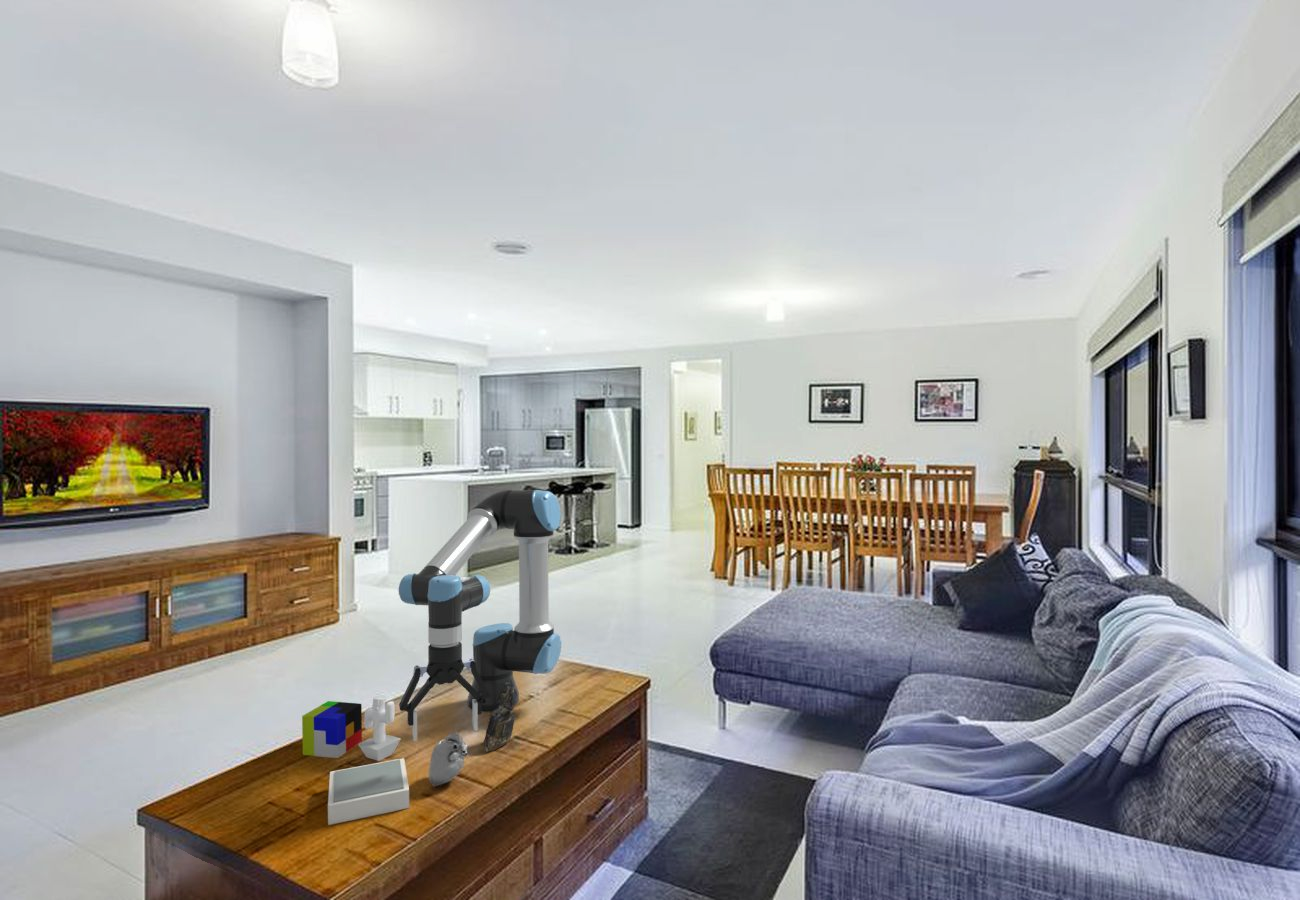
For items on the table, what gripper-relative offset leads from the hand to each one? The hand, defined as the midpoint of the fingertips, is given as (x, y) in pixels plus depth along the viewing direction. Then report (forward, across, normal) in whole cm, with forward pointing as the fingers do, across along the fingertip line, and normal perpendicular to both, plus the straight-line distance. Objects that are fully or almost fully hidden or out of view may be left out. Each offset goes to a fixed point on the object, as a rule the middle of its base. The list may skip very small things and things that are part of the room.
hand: (445, 733), depth 159 cm
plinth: (+11, +17, +1) cm, 20 cm away
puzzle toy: (+11, +25, -30) cm, 41 cm away
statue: (+11, -15, -14) cm, 24 cm away
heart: (+12, 0, 0) cm, 12 cm away
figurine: (+11, +14, -20) cm, 27 cm away
